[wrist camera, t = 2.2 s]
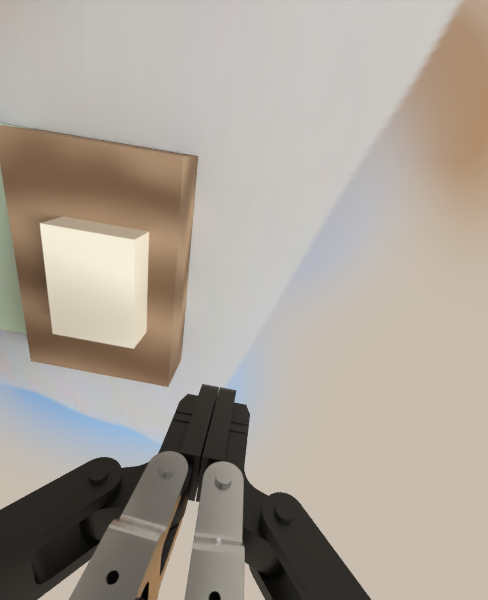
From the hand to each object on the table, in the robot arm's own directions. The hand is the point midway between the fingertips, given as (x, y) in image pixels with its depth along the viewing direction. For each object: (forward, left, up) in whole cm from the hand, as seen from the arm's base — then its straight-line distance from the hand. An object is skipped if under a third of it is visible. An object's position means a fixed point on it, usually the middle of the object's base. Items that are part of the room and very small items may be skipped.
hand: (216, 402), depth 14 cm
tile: (0, -10, -10) cm, 14 cm away
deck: (0, -11, -14) cm, 18 cm away
